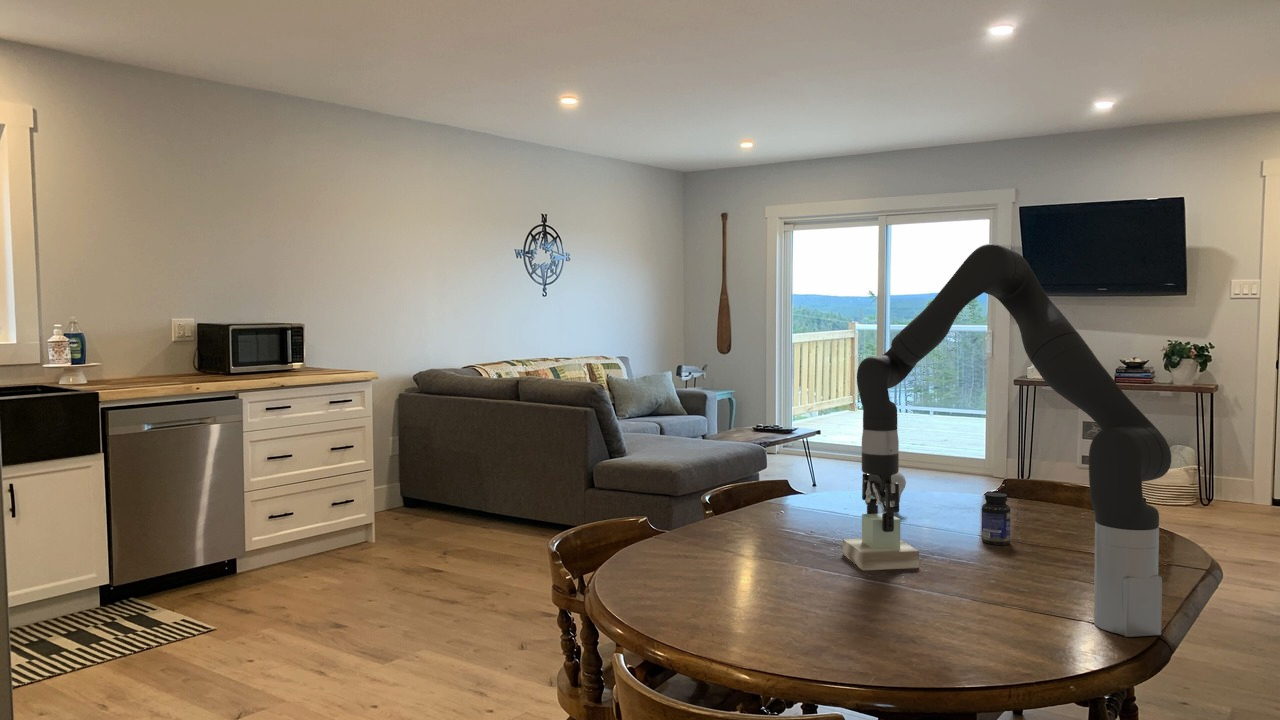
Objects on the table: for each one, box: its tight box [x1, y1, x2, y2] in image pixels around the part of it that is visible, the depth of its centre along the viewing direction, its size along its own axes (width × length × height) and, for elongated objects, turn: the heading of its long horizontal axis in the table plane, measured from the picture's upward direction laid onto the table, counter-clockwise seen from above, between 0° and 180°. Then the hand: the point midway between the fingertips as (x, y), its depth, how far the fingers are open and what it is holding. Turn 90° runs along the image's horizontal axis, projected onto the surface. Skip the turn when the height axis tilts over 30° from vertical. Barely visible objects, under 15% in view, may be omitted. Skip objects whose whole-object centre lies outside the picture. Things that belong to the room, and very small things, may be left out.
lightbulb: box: [891, 471, 907, 506], centre depth 237 cm, size 6×6×11 cm
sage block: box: [861, 513, 902, 549], centre depth 189 cm, size 6×6×6 cm
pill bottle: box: [981, 492, 1011, 546], centre depth 204 cm, size 6×6×11 cm
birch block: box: [842, 537, 920, 571], centre depth 189 cm, size 12×12×4 cm
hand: (879, 526), depth 189 cm, fingers open, 8 cm apart
